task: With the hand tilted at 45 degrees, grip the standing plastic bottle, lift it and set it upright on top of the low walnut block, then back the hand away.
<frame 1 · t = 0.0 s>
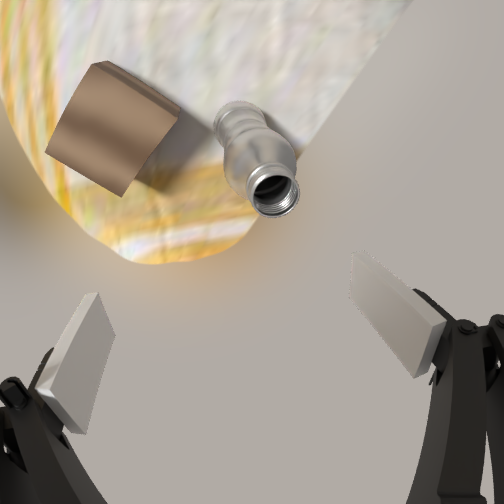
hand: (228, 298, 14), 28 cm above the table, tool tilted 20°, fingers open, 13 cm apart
plastic bottle: (236, 121, 35), on the table
walnut block: (117, 120, 31), on the table
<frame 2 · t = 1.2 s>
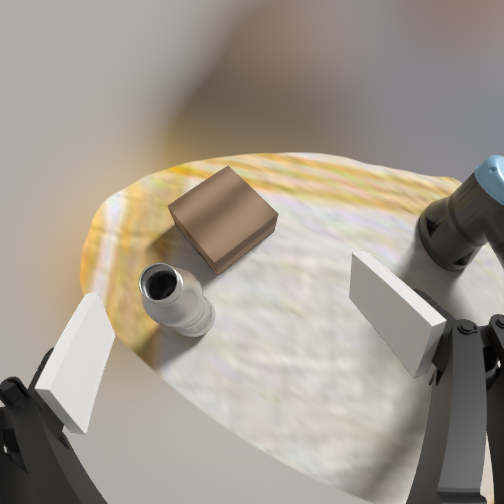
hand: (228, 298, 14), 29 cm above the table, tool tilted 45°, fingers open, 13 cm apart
plastic bottle: (194, 318, 42), on the table
walnut block: (223, 227, 48), on the table
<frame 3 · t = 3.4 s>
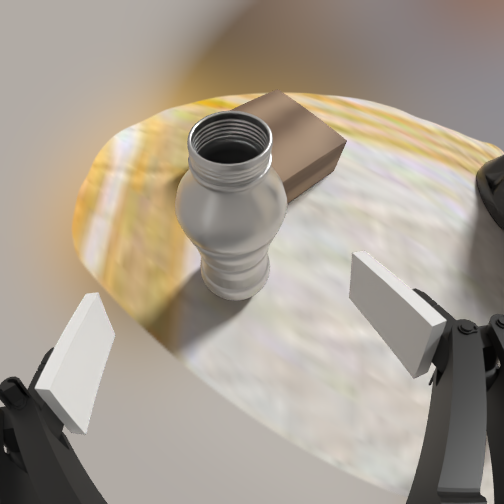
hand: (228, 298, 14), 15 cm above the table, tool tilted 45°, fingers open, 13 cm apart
plastic bottle: (235, 275, 30), on the table
walnut block: (270, 162, 36), on the table
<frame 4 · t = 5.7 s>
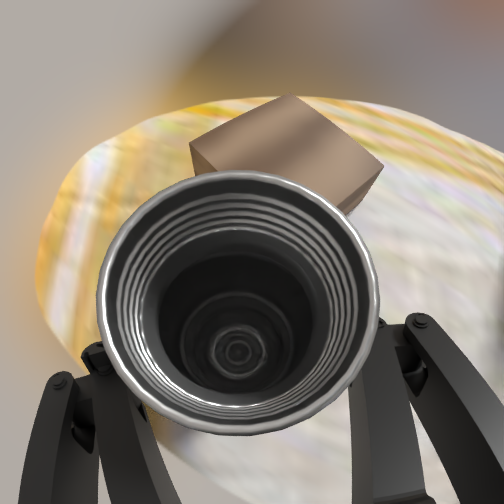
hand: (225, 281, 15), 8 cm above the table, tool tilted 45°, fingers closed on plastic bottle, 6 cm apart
plastic bottle: (237, 352, 22), on the table, touching gripper
walnut block: (281, 190, 28), on the table
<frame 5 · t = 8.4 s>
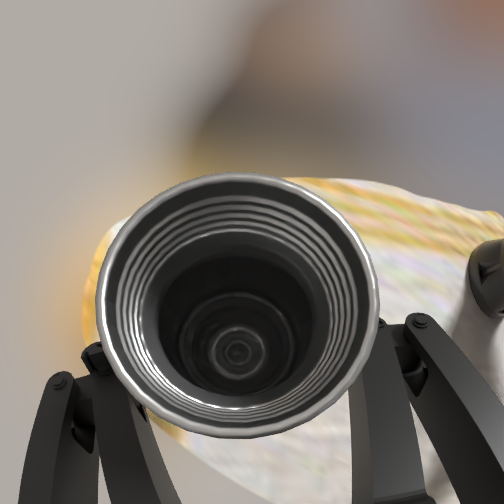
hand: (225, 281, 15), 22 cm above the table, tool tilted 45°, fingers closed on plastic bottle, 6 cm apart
plastic bottle: (237, 353, 22), point 13 cm above the table, touching gripper
when the fingers open (16 cm above the table, at t = 10.9 s): plastic bottle drops 1 cm, resting on walnut block.
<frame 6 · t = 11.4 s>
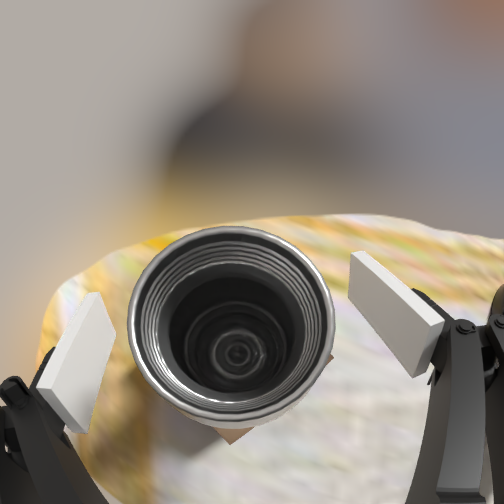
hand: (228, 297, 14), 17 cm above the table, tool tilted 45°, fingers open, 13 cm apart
plastic bottle: (237, 354, 23), point 6 cm above the table, touching walnut block
walnut block: (238, 354, 29), on the table
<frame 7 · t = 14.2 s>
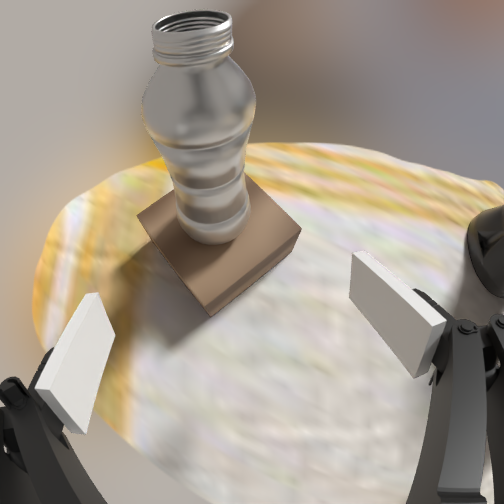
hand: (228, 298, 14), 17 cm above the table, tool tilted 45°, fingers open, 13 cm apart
plastic bottle: (215, 223, 28), point 6 cm above the table, touching walnut block
walnut block: (219, 245, 33), on the table
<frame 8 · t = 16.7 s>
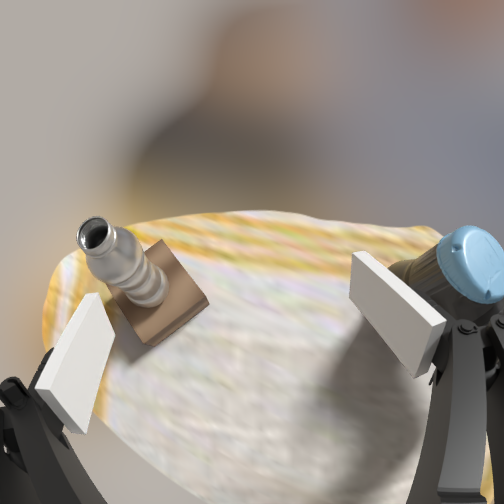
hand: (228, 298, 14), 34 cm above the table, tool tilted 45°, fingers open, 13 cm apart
plastic bottle: (151, 290, 42), point 6 cm above the table, touching walnut block
walnut block: (161, 298, 47), on the table
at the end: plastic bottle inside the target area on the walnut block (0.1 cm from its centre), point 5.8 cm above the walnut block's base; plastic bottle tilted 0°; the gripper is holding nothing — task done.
